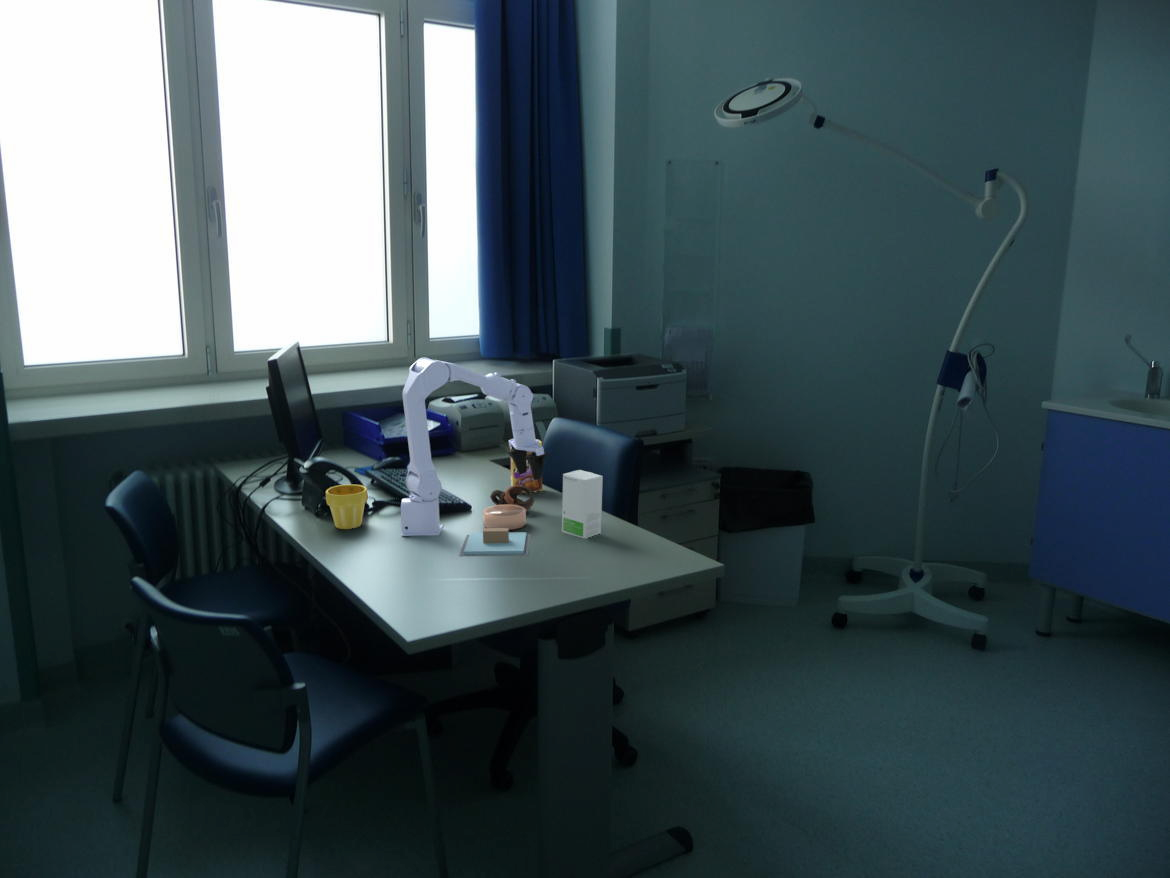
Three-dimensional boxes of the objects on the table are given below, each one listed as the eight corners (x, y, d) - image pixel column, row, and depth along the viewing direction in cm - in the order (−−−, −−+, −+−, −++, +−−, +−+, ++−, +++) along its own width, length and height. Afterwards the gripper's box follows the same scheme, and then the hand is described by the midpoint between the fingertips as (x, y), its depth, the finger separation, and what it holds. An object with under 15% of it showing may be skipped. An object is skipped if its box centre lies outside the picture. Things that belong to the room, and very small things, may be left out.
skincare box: (561, 533, 231) (560, 473, 228) (579, 527, 236) (578, 468, 233) (585, 540, 226) (585, 479, 222) (603, 534, 230) (603, 474, 227)
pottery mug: (532, 507, 256) (538, 486, 251) (527, 530, 249) (533, 509, 244) (490, 497, 255) (495, 475, 250) (484, 520, 248) (489, 499, 243)
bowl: (481, 534, 231) (480, 517, 230) (485, 521, 242) (485, 504, 241) (525, 533, 231) (524, 516, 230) (527, 520, 242) (526, 504, 241)
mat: (459, 557, 214) (459, 556, 214) (466, 536, 230) (466, 534, 229) (527, 557, 214) (527, 555, 214) (530, 535, 230) (530, 533, 230)
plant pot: (363, 531, 234) (361, 494, 232) (323, 531, 234) (320, 495, 232) (372, 519, 244) (370, 484, 242) (334, 519, 244) (331, 484, 242)
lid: (463, 554, 215) (463, 539, 214) (470, 535, 229) (469, 521, 228) (523, 554, 215) (523, 538, 214) (526, 535, 229) (526, 520, 228)
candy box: (512, 494, 267) (511, 443, 263) (510, 491, 271) (509, 440, 268) (542, 492, 269) (542, 441, 265) (540, 488, 273) (539, 438, 270)
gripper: (550, 427, 239) (557, 476, 243) (521, 420, 250) (528, 466, 254) (527, 435, 235) (535, 484, 239) (499, 426, 247) (506, 474, 251)
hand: (530, 475), depth 246 cm, fingers open, 7 cm apart
